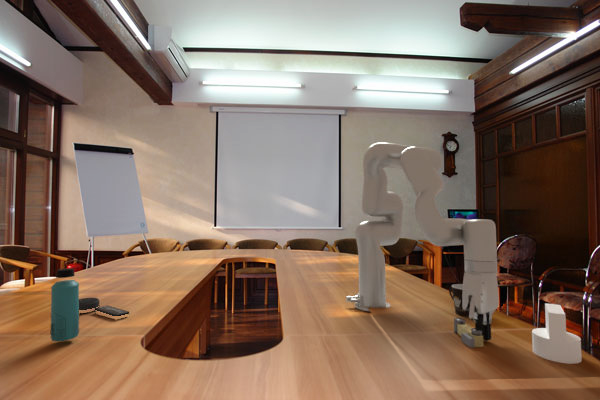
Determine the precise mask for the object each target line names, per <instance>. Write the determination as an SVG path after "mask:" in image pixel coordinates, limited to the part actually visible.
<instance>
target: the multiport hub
mask: <svg viewBox="0 0 600 400" xmlns="http://www.w3.org/2000/svg"><path fill="white" fill-rule="evenodd" d="M95 310H97V311H100V312H103V313H106V314H109V315H112V316H121V315H125V314H129V315H130V311H129V310H124V309H121V308H118V307H114V306H110V305H102V306H99V307H98V308H95Z"/></svg>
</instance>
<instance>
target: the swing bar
mask: <svg viewBox="0 0 600 400" xmlns="http://www.w3.org/2000/svg"><path fill="white" fill-rule="evenodd" d="M453 330H454V334H457V335H458V336H460V337H461V333H467V334H468V335H470V336H471V337H472V338H474V342H475V347H474V348H484V340H483V335H482V330H480V329H477V328H475V327H474V328H473V327H471V326H470V325H469V324H467V323H466V319H465V318H462V317H454V318H453Z"/></svg>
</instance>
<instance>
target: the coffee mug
mask: <svg viewBox="0 0 600 400" xmlns="http://www.w3.org/2000/svg"><path fill="white" fill-rule="evenodd" d="M448 292H449V296H450V298H451V299H452V302H453V305H454V312H455V314H456V315H457V316H461V317H467V318H469V311H470V310H468V311H465V310H463V306H462V293H463V283H460V284H459V283H457V284H452V285H451V286H450V287H449V291H448Z"/></svg>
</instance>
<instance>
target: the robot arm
mask: <svg viewBox="0 0 600 400" xmlns="http://www.w3.org/2000/svg"><path fill="white" fill-rule="evenodd" d="M442 166H443V158H442V155H441V153H440V152H439V151H438V150H436V149H434V148H429V147H425V146H424V147H423V146H414V145H406V144H398V143H393V142H384V141H383V142H376V143H372V144H371V145H370V146H368V148H367V149H366V151H364V154H363V158H362V171H363V187H362V196H361V198H362V199H361V210H362V213H363V214H364V215H365V216H367V217H371V218H374V217H375V218H381V219H376V220H375V219H372V220H365V221H364V220H363V221H361V222H360V223H358V224H357V226H356V227H355V233H354V235H355V241H356V246H357V255H358V258H357V259H358V260H357V261H358V292H357V293H356V294H354V295H353V296H351V295H346V296H345V300H346V302H347V303H349V302H350V303H354V307H355V308H356V309H358V310H360V311H362V312H363V311H364V312H369V313H370V308H373V309H374V308H391V303H389V302H387V298H386V297H387V295H386V289H387V287H386V259H385V255H384V252H383V250H382V248H381V247H382V246H393V245H395V244H396V243H397V242H398V241H399V239H400V237H401V232H402V223H403V214H404V213H403V212H404V211H403V210H404V206H403V205H404V204H403V200H402V198H401V196H400V195H399V194H398V193H396V192H394V191H388V176H387V174H386V171H385V170H384V168H391V169H398V170H403V173H404V174H405V176H406V178H407V180H408V182H409V184H410V186H411V187H412V190H413V191H414V193H415V196H416V198H415V202H414V214H415V218H416V222H417V224H418V225H419V227H420V230H421V231H422V234H423V235H424V238H426V240H427V241H428V242H429V243H430V244H432V245H433V246H436V247H437V246H438V247H449V246H462V245H463V257H464V258H463V259H464V260H463V261H464V262H463V263H464V273H463V281H462V284H463V293H462V306H463V310H465V311H468V310H470V311H469V317H468V318H469V319H473V322H474V328H477V329H480V330H482V335H483V341H485V342H488V341H490V340H492V325H491V324H492V321H493V320H492V318H493V314H494V313H495V312H496V309H498V308H499V307H500V306H499V304H500V295H499V285H498V276H497V275H498V273H499V272H498V255H497V254H498V253H497V252H498V251H497V249H498V247H497V228H496V223H495V221H493V220H492V219H486V218H485V219H484V218H483V219H481V218H480V219H479V218H476V219H468V218H467V219H466V218H454V217H453V218H452V217H451V218H449V217H448V218H443V216H442V215H441V213H440V211H439V209H438V208H437V205H436V201H435V200H436V196H437V195H438V194H439V193H440V192H442V191H443V189H444V187H445V184H444V181H443V179H442V177H441V176H440V174H439V173H438V172H439V171H440V170H441V169H442Z"/></svg>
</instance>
